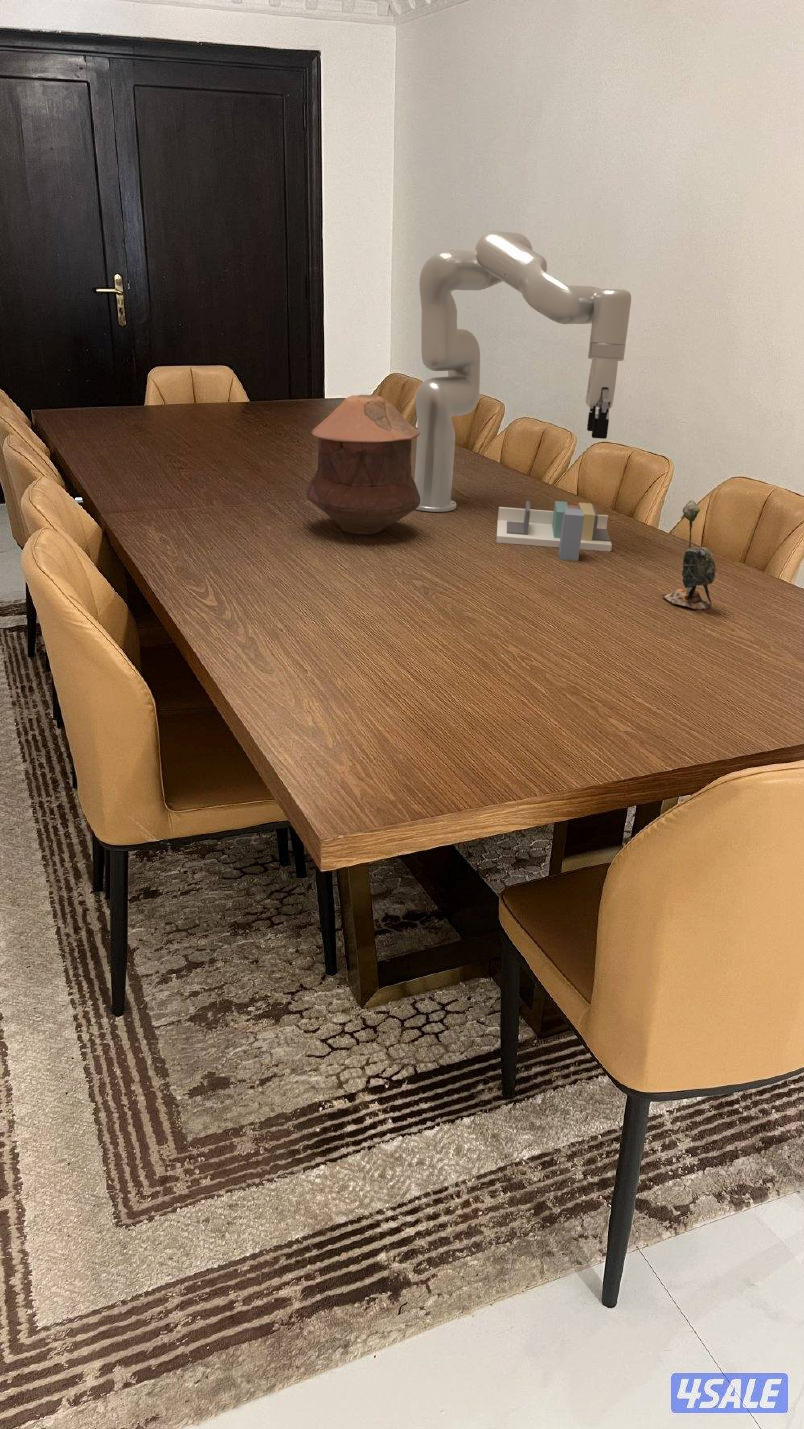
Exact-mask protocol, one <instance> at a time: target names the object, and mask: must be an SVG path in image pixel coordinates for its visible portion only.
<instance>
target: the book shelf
mask: <svg viewBox="0 0 804 1429" xmlns="http://www.w3.org/2000/svg"><path fill="white" fill-rule="evenodd" d="M564 508H570V509H582V510H583V514H584V521H583V528H582V536H581V543H580V550H585V551H587V550H588V551H600V552H610V551H611V552H612V547H613V544H612V541H611V538H610V536H609V532H608V529H607V527H608V518H609V515H608V514H598V511H597V509H596V506H595V505H593V503H590V502H589V503H588V502H578V504H577V505H571V504H568V502H567V501H561V500H554V507H553V510H546V509H545V510H543V509H532V508H531V503H530V501H529V500H526V501H525V508H520V507H519V508H518V507H517V508H516V507H506V506H499V507H498V515H497V525H496V543H498V544H508V545H509V544H511V545H512V544H513V545H523V546H524V545H525V546H537V547H549V548H559V545H560V537H561V529H562V521H563V513H564Z"/></svg>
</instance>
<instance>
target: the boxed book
mask: <svg viewBox="0 0 804 1429" xmlns="http://www.w3.org/2000/svg"><path fill="white" fill-rule="evenodd" d="M583 521H584V514H583V510H582V509H570V508H564V513H563V521H562V529H561V537H560V545H559V547H558V556H559V560H561V561H572V562H578V561H579V558H580V557H579V556H580V550H581V549H580V543H581V536H582V528H583Z"/></svg>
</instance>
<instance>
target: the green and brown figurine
mask: <svg viewBox="0 0 804 1429" xmlns="http://www.w3.org/2000/svg"><path fill="white" fill-rule="evenodd" d="M700 510H701V509H700V507H699V506H698V504H697V503H696V502H695V501H694V500H689V501H688V502H687V503H686V505H685V506H684V507H683V508H682V513H683V514H682V515H681V517H680V519H681V520H683V519H684V518H686V520H687V521H689V524H688V526H689V529H688V530H689V543H688V549H686V550H684V551H685V552H684V556H683V562H682V572H681V575H682V583H683V588H679V589H676V590H675V591H673V592H669V593H665V594H663V593H662V595H661V596H662V597H663V598H664V599H665V600H667V601H669V603H670V604H672V605H674V604H675V605H678V606H682V607H686V608H689V609H693V610H697V611H698V610H699V611H700V610H704V609H709V608H711V607H712V605H713V603H714V602H713V599H712V598H711V596H710V591H709V587H708V585H711V584H713V582H714V581H715V579H716V576H717V575H716V571H717V569H716V561H715V559H714V556H713V555H712V553H711V551H710V550H709V549H708V548H707V547H703V546H694V547H691V544H692V529H693V522H695V521H696V518H697V516H698V515H699V512H700ZM697 586H698V587H699V586H703V589H704V592H705V594H706V598H707V600H708V601H709V602H708V601H707V600H706V599H704V598H702V597H701V594H700V593H699V591H698V590H696V589H697Z"/></svg>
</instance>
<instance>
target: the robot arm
mask: <svg viewBox="0 0 804 1429" xmlns="http://www.w3.org/2000/svg"><path fill="white" fill-rule="evenodd" d="M546 260H547V259H545V257H544V256H542V255H541V254H539V252H535V251H534V250H533V246H532V243H531V242H530V240H529V239H528V238H527V237H526V236H525V235H524V234H522V233H520V232H519V233H518V232H512V231H509V232H508V231H501V230H500V231H498V230H496V231H489V232H486V233H485V234H483V236H481V237H480V238H479V239H478V241H477V243H476V245H475V249H474V250H463V249H461V250H460V249H446V250H441V251H438V252H436V253H434V254H433V255H431V256H430V257H429V258H428V259H427V260H426V261H425V262H424V265H423V266H422V268H421V272H420V276H419V284H418V285H419V286H418V287H419V295H420V306H421V321H420V322H421V323H420V324H421V325H420V326H421V332H420V333H421V335H420V338H421V341H420V342H421V346H420V347H421V348H420V349H421V360H422V363H423V365H424V366H425V368H426V369H427V370H429V371H433V372H447V376H438V377H437V376H435V377H431V378H428V379H426V380H424V381H423V382H422V383H421V384H420V385H419V386H418V387H417V389H416V392H415V396H414V397H415V399H414V400H415V412H416V419H417V420H416V421H417V422H416V425H417V428H416V429H417V430H419V431H420V435H419V436H417V437H416V449H415V450H416V451H415V452H416V453H415V455H416V456H415V471H414V482H415V484H416V487H417V490H418V493H419V496H420V504H419V506H418V507H417V508H416V509H415V510H417V511H423V512H432V513H433V512H434V513H443V512H445V513H446V512H451V511H454V510H456V509H457V502H456V501H455V500H453V499H452V488H453V474H454V473H453V472H454V464H455V463H454V460H455V451H456V450H455V448H456V432H455V427H454V424H453V420H452V418H453V417H459V416H460V417H461V416H464V415H469V414H470V413H471V412H473V411H474V410H475V409H476V408H477V405H478V404H479V398H480V389H481V388H480V386H481V385H480V384H481V382H480V380H481V374H480V373H481V350H480V344H479V342H478V340H477V337H476V336H475V334H473V333H472V332H471V331H469V330H468V329H464V328H458V310H457V308H458V307H457V304H456V301H455V299H454V296H453V295H452V292H453V291H482V290H485V289H488V288H491V287H493V286H495V285H498V284H499V283H502V282H503V283H505V284H506V285H508V286H510V287H511V288H513V289H514V290H516V291H518V292H519V293H520V294H522V295H521V296H522V297H523V299H524V300H525V302H526V303H527V305H529V306H530V307H531V308H532V309H533V310H535V311H537V313H539V314H541V315H543V316H544V317H546V318H548V319H549V320H551V321H552V322H555V323H557V324H562V325H586V324H587V325H588V324H589V325H590V324H591V326H590V327H591V329H590V337H589V338H590V339H589V346H588V354H587V355H588V356H587V359H590V360H591V363H590V369H589V374H588V381H587V389H586V396H585V404H586V405H587V407H589V412H588V418H587V424H586V425H587V428H586V431H588V432H591V437H592V439H603V440H604V439H605V440H606V439H607V438H608V432H609V431H608V430H609V424H610V422H609V421H610V419H609V418H610V409H612V407H613V405H614V404H613V403H614V397H615V393H616V392H615V390H616V381H617V376H618V368H619V367H618V365H619V362H621V361H622V362H623V361H624V359H625V351H626V343H627V338H628V337H627V336H628V329H629V321H630V320H629V319H630V313H631V312H630V311H631V307H632V306H631V304H632V294H631V292H630V291H629V290H626V289H617V288H600V287H596V286H588V285H568V284H565V283H563V282H561V281H559V280H558V279H556V278H555V277H553V276H551V275H550V274H548V273H547V270H548V263H547V261H546Z"/></svg>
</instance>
